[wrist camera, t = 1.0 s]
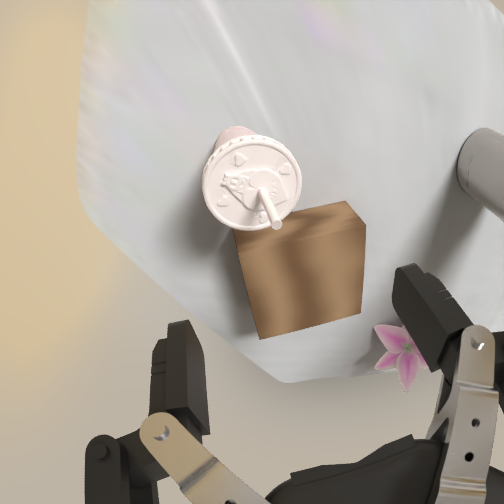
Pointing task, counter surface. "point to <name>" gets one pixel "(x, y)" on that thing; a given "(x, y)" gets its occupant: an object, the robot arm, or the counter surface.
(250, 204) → the smoothie
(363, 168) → the counter surface
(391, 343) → the lily
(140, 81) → the counter surface
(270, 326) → the walnut block
